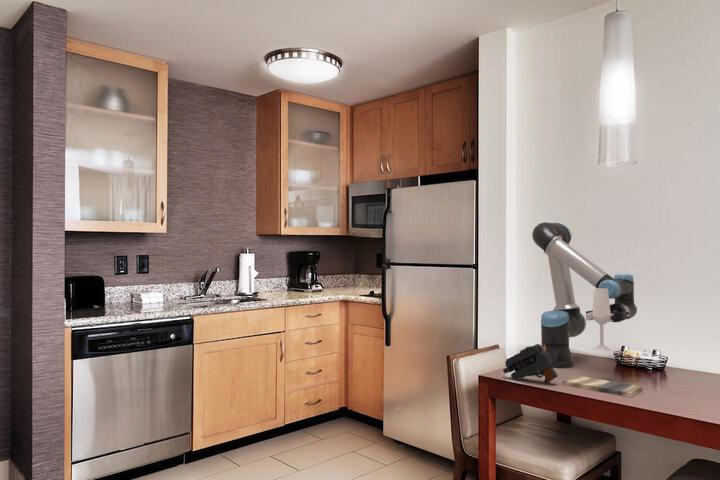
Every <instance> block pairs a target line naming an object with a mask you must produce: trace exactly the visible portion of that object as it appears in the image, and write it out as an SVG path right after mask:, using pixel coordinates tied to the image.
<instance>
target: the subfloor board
mask: <svg viewBox="0 0 720 480" xmlns="http://www.w3.org/2000/svg"><path fill="white" fill-rule="evenodd" d="M562 385H563V386H568V387H573V388H578V389H583V390H588V391H595V392H598V393H599V392H600V393H605V394H610V395H611V394H612V395H617V396H622V397H626V398H632V397H634V396H636V395H637V394H640V393H641V392H643V386H640V385H636V384H629V383H623V382H618V381H613V380H606V379H600V378H596V377H595V378H594V377H588V376H583V375H576V374H575V375H574V376H571V377H569V378H566V379H564V380H562Z"/></svg>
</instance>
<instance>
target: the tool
mask: <svg viewBox="0 0 720 480" xmlns="http://www.w3.org/2000/svg"><path fill="white" fill-rule="evenodd" d="M530 346H531V345H529V346H527V348H526V347H525V348H523V349H521V350H519V352H518V353H516V354H514V355H512V356H510V357H509V358H507V359H506V361H505V368H503V369H502V372H503V373H504V374H507V373H509V374H510V373H511V372H512V373H511V374H510V377H511V378H512V380H513V381H515V380H516V381H518V380H520V379H523V378H526V377H529V376H528V375H531V374H533V373H535V374H536V375H535V376H536V377H537V378H542V377H544V380H542V382H543V383H544V385H547V384H549V383H550V382H551V381H554V379H557V377H558V376H559V375H558V373H557V372H556V370H555V369H554V367H552V366H551V365H553V360H552V358H551V356H550V354H549V353H548V352H545V351H542V350H543V349H542V344H539V343H536V344H535V345H532V346H531V347H530ZM538 371H539V372H541V374H543V373H544V375H538V374H537V372H538Z"/></svg>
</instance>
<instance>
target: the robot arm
mask: <svg viewBox="0 0 720 480" xmlns="http://www.w3.org/2000/svg"><path fill="white" fill-rule="evenodd" d="M531 234H532V235H531V236H532V241H533V242H534V243H535V245H536V246H538V247H539V248H540V249H541V250H542V251H543V253H544V254H545V255H547V257H548V264H549V270H550V278H551V281H552V282H551V283H552V288H553V295H554V301H555V307H554V308H553V309H552V310H547V311H545V312H543V313H542V314H541V318H540V327H541V328H540V329H541V330H540V331H541V332H540V333H541V336H540V337H541V340H540V341H541V346H542V349H543V346H544V345H545V347H546V352H548V353H549V354H550V356H551V358H552V360H553V365H551V366H552V368H563V369H564V368H571V367H574V366H575V364H574V363H575V362H574V361H575V360H574V358H573V355H572V354H573V353H572V352H571V349H570V338H575V337H578V336H579V335H581V334H582V333H583V332H584V331H585V329H586V327H587V322H588V321H593V320H594V319H593V317H592V313H593V309H592V310H588V311H587V310H586V311H585V316H584V315H583V314H582V313H581V308H580V306H579V305H578V304H577V303H576V299H575V294H574V288H573V287H574V286H573V281H572V276H571V271H570V270H572V271H573V272H575V273H576V274H578V275H579V276H580V277H581V278H583V279H584V281H587V283H589V284H591V286H593V287H594V288H606V289H608V295H609V300H610V299H612V300H613V299H614V303H611V304H610V312H611V314H608V315H606V322H607V323H610V322H612V323H621V322H622V321H625V320H630V319H632V318H633V317H635V316H636V314H637V313H638V307H637V306H636V304H635V285H634V284H635V281H634V276H633V274H629V273H627V274H626V273H625V274H624V273H622V274H621V273H619V274H618V273H617V274H614V275H613V277H612V276H611V275H609V274H608V273H607V272H606V271H604V270H603V269H602V268H600V267H599V266H598V265H597V264H595V263H594V262H593V261H591V260H590V259H588V258H587V257H586V256H584V255H583V254H581V253H580V252H579V251H578V250H576V249H575V248H573V247H572V246H571V245H570V243H571V241H572V233H571V230H570V228H568V226H567V225H565V224H563V223H560V222H546V221H545V222H541V223H539V224H537V225H535V227H534V228H533V230H532V233H531Z"/></svg>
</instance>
